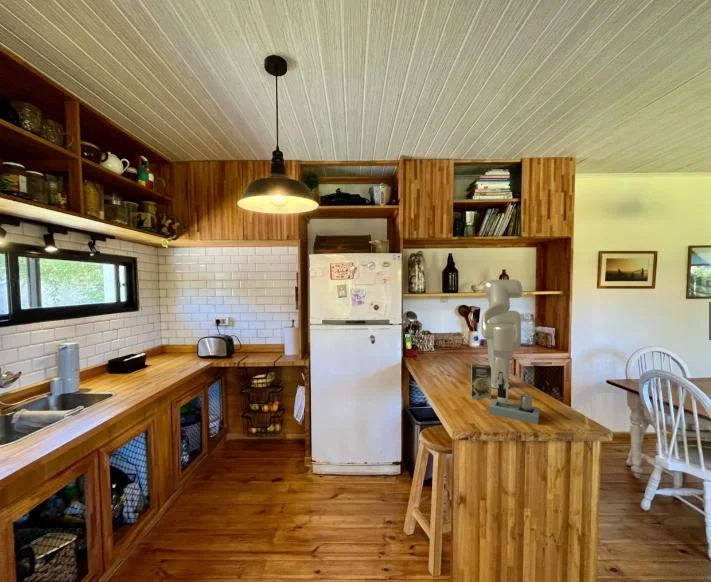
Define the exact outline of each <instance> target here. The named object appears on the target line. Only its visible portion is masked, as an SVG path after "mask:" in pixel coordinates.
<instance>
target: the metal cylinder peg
mask: <svg viewBox="0 0 711 582" xmlns="http://www.w3.org/2000/svg"><path fill="white" fill-rule="evenodd" d="M520 404H521V411H525V412H529V413H532V406H533V395H532V394H530V393H529V394H528V393H521V394H520Z"/></svg>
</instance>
